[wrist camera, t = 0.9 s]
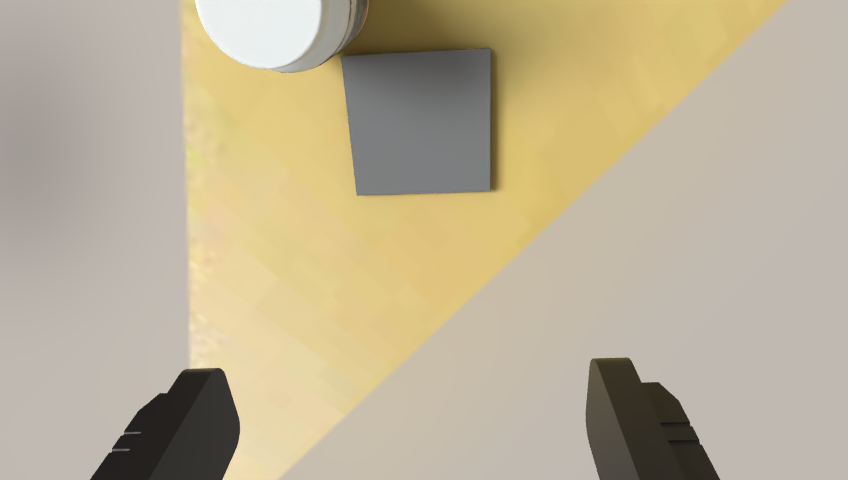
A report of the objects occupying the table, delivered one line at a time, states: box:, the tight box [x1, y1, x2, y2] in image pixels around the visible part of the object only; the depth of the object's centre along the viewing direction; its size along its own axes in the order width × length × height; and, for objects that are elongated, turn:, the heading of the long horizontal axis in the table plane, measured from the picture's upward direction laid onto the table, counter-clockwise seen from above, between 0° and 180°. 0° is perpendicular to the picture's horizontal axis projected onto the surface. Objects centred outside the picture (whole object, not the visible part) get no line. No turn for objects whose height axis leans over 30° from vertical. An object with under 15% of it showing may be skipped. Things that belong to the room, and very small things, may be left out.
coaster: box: [341, 48, 491, 196], centre depth 30 cm, size 8×8×1 cm
